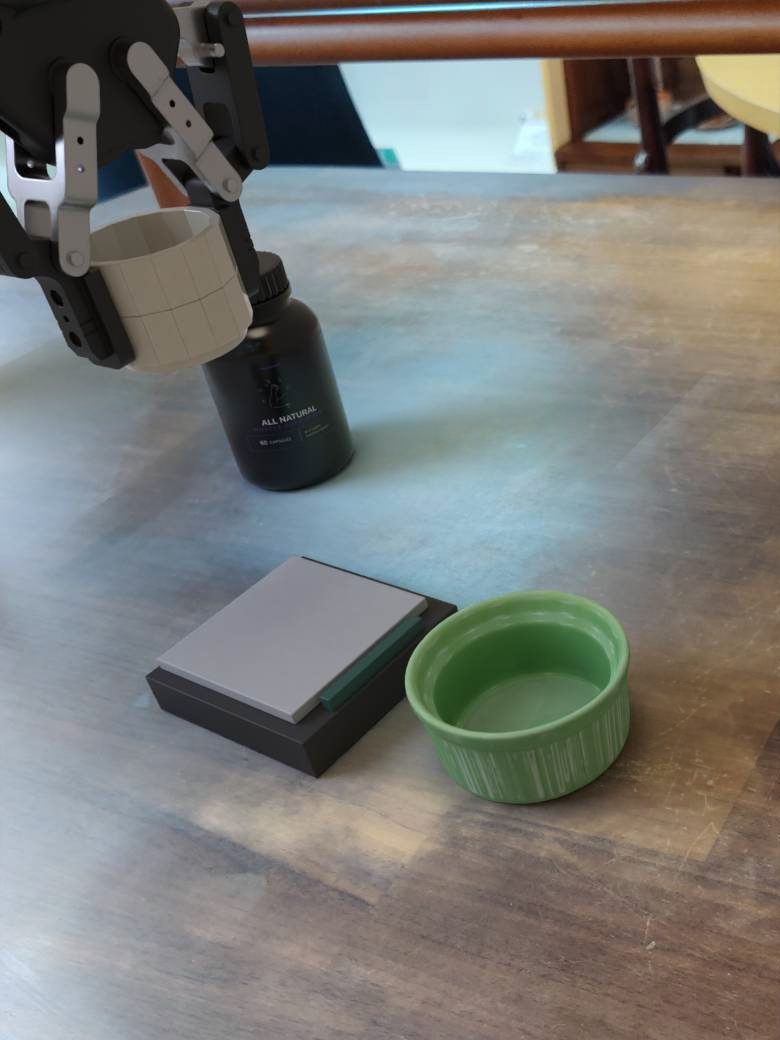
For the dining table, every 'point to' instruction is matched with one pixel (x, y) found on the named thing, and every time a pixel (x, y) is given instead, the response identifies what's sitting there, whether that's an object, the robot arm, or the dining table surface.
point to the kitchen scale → (298, 662)
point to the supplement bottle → (280, 391)
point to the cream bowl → (173, 286)
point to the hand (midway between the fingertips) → (178, 326)
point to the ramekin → (524, 694)
